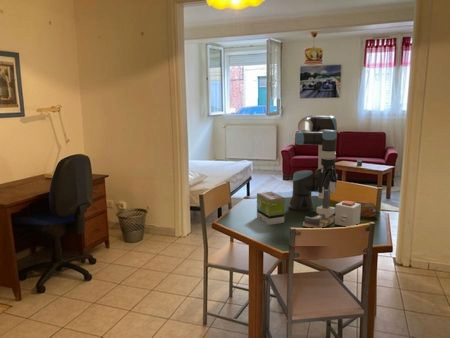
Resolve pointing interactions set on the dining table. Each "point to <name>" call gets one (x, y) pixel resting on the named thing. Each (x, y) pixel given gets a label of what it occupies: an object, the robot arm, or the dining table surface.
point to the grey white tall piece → (326, 205)
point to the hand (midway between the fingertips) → (326, 195)
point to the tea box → (270, 207)
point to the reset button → (348, 203)
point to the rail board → (322, 223)
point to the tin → (367, 209)
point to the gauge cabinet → (347, 214)
